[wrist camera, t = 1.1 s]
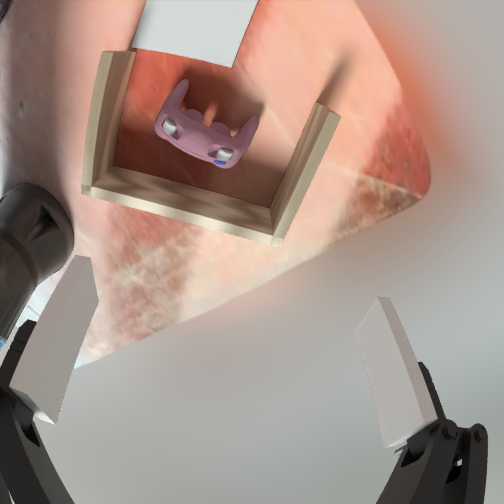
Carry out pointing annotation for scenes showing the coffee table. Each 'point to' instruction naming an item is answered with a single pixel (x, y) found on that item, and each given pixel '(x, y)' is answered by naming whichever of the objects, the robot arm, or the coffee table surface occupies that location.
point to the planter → (3, 7)
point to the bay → (182, 195)
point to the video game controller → (202, 132)
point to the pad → (195, 28)
